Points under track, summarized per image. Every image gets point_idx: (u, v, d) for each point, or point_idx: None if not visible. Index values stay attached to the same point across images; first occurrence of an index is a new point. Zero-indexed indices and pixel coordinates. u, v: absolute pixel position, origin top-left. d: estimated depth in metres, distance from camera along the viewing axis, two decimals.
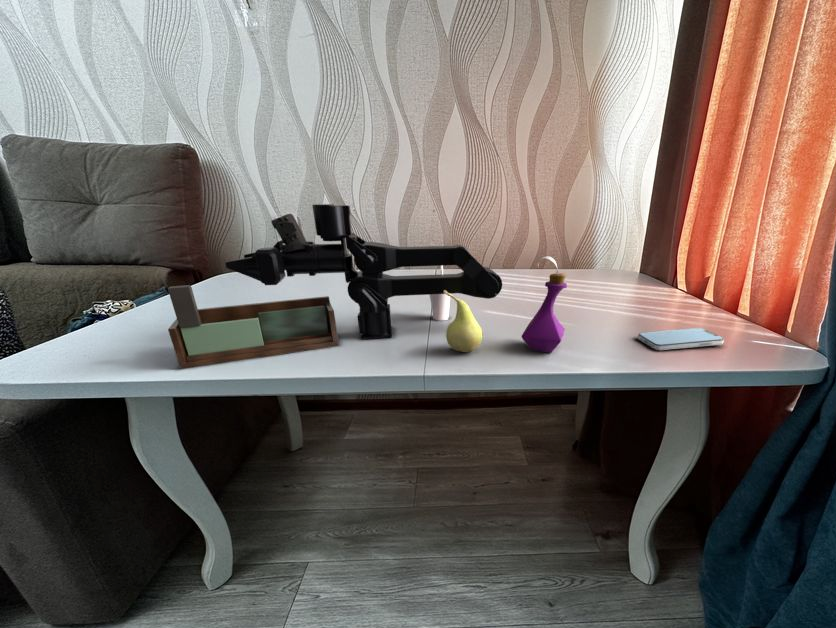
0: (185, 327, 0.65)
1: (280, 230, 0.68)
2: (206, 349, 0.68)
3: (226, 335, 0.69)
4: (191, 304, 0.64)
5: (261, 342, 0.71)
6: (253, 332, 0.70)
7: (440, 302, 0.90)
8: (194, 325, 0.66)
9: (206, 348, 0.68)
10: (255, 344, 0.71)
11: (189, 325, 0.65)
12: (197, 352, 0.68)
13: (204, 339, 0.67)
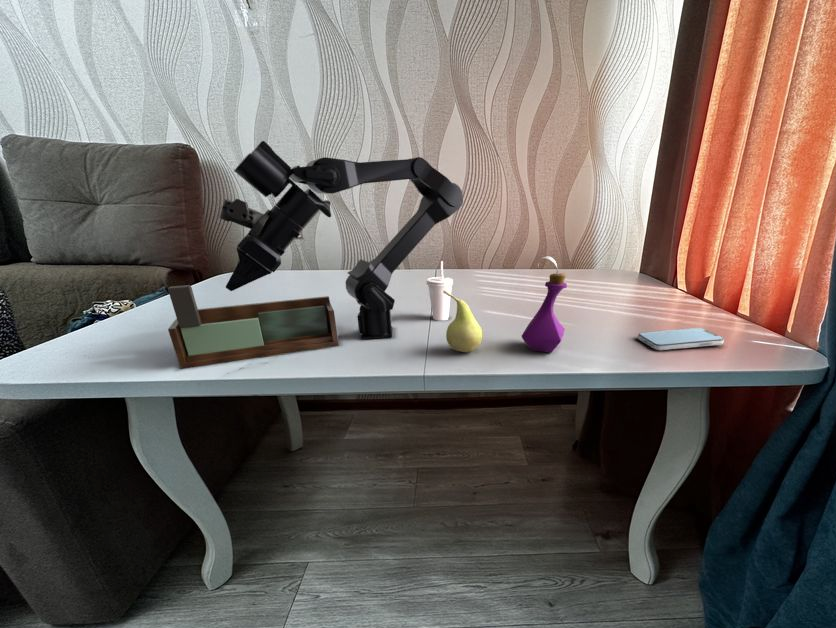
0: (185, 327, 0.65)
1: (235, 216, 0.60)
2: (206, 349, 0.68)
3: (226, 335, 0.69)
4: (191, 304, 0.64)
5: (261, 342, 0.71)
6: (253, 332, 0.70)
7: (440, 302, 0.90)
8: (194, 325, 0.66)
9: (206, 348, 0.68)
10: (255, 344, 0.71)
11: (189, 325, 0.65)
12: (197, 352, 0.68)
13: (204, 339, 0.67)
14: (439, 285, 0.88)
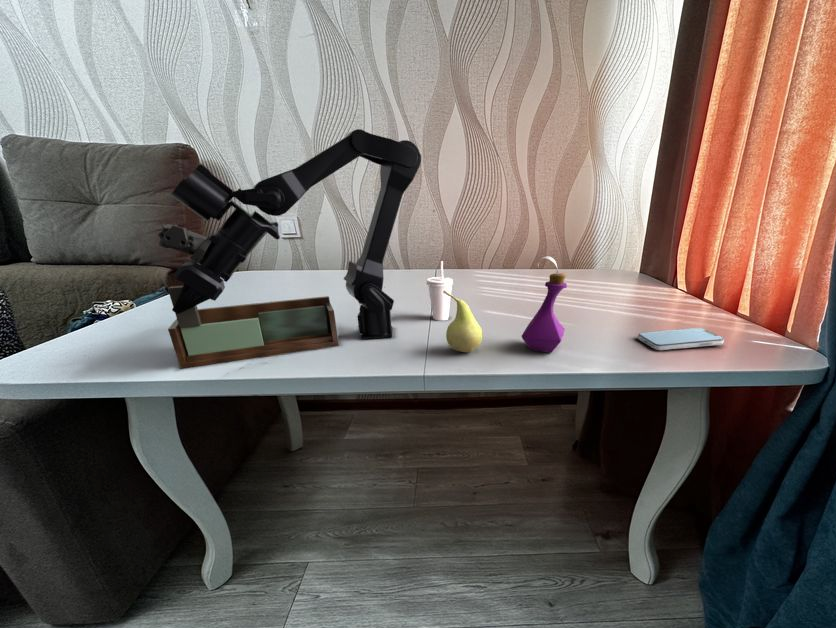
0: (185, 327, 0.65)
1: (172, 243, 0.58)
2: (206, 349, 0.68)
3: (226, 335, 0.69)
4: None
5: (261, 342, 0.71)
6: (253, 332, 0.70)
7: (440, 302, 0.90)
8: (194, 325, 0.66)
9: (206, 348, 0.68)
10: (255, 344, 0.71)
11: (189, 325, 0.65)
12: (197, 352, 0.68)
13: (204, 339, 0.67)
14: (439, 285, 0.88)
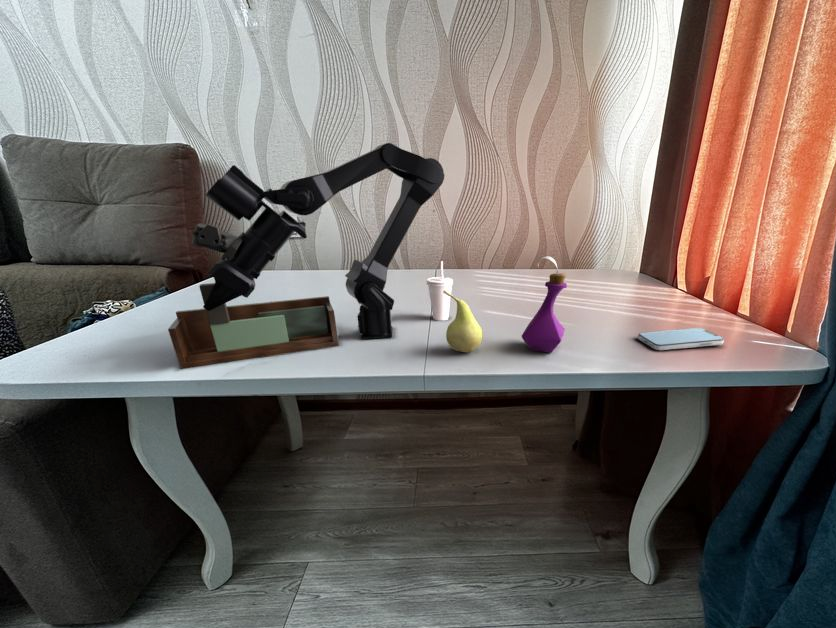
0: (215, 324, 0.67)
1: (206, 242, 0.60)
2: (234, 345, 0.70)
3: (254, 332, 0.70)
4: None
5: (286, 339, 0.73)
6: (279, 329, 0.72)
7: (440, 302, 0.90)
8: (223, 322, 0.67)
9: (234, 344, 0.70)
10: (281, 340, 0.73)
11: (219, 322, 0.67)
12: (225, 348, 0.69)
13: (233, 335, 0.69)
14: (439, 285, 0.88)
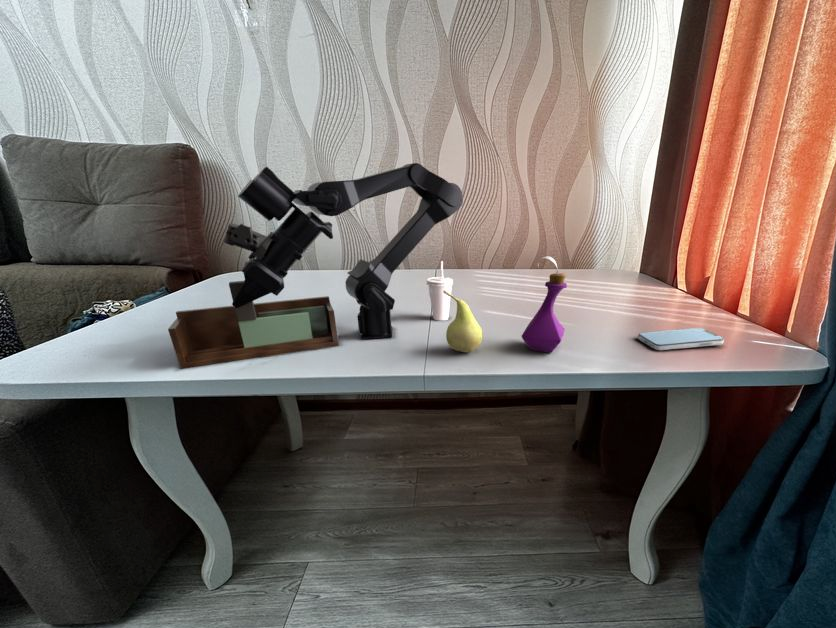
0: (243, 320, 0.69)
1: (239, 241, 0.61)
2: (261, 341, 0.71)
3: (279, 329, 0.72)
4: None
5: (310, 335, 0.75)
6: (303, 326, 0.74)
7: (440, 302, 0.90)
8: (251, 319, 0.69)
9: (260, 341, 0.71)
10: (305, 337, 0.75)
11: (246, 319, 0.69)
12: (252, 344, 0.71)
13: (259, 332, 0.71)
14: (439, 285, 0.88)
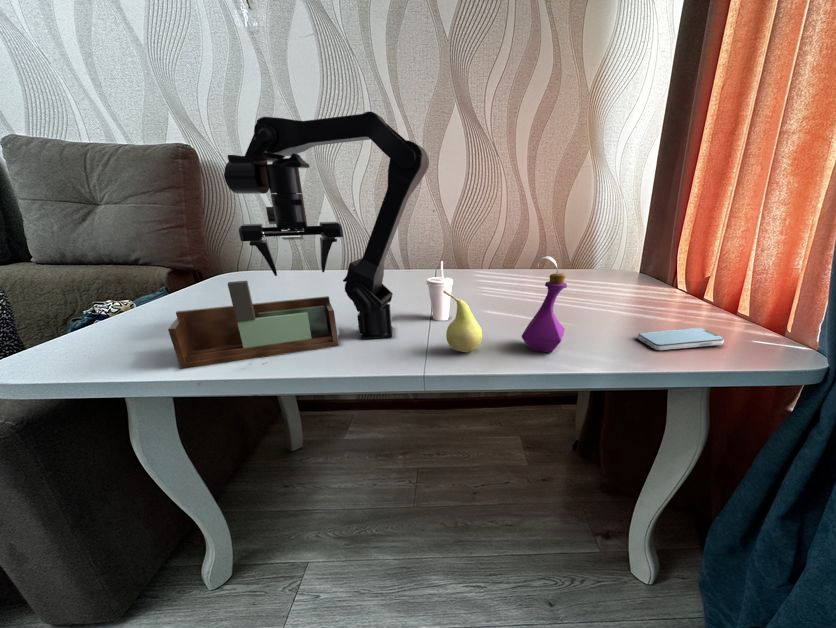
0: (242, 321, 0.69)
1: None
2: (259, 342, 0.71)
3: (278, 329, 0.72)
4: (248, 299, 0.68)
5: (309, 335, 0.75)
6: (302, 326, 0.74)
7: (440, 302, 0.90)
8: (250, 319, 0.69)
9: (259, 341, 0.71)
10: (304, 337, 0.75)
11: (245, 319, 0.69)
12: (251, 345, 0.71)
13: (258, 332, 0.71)
14: (439, 285, 0.88)
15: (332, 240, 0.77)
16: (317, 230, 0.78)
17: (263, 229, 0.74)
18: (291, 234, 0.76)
